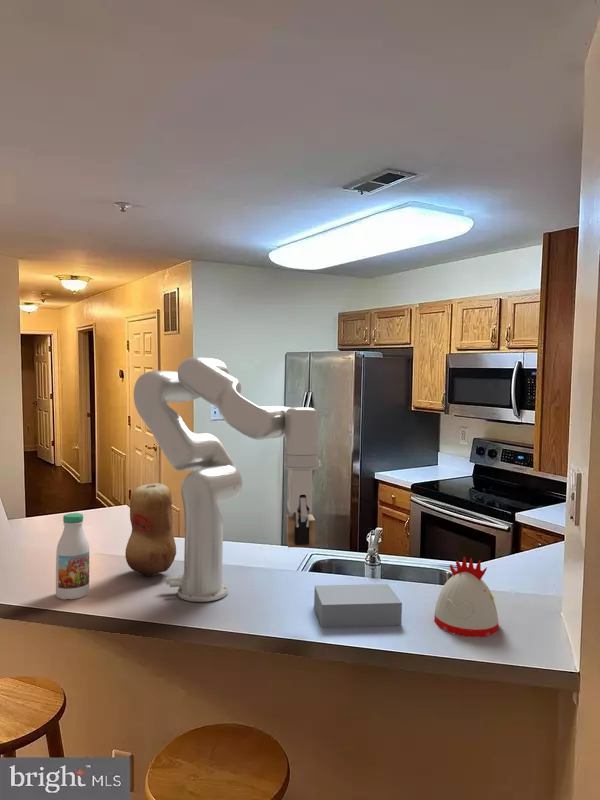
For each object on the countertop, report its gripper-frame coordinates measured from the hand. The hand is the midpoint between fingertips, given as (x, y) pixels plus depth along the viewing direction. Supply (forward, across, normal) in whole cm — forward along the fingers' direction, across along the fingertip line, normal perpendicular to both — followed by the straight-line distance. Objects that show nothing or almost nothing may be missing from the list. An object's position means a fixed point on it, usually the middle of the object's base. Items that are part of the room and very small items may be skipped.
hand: (300, 539), depth 129 cm
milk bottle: (+17, -16, -55) cm, 60 cm away
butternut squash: (+17, -31, -38) cm, 52 cm away
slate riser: (+18, -1, +13) cm, 22 cm away
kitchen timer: (+19, +5, +37) cm, 42 cm away
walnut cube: (+1, 0, 0) cm, 1 cm away
